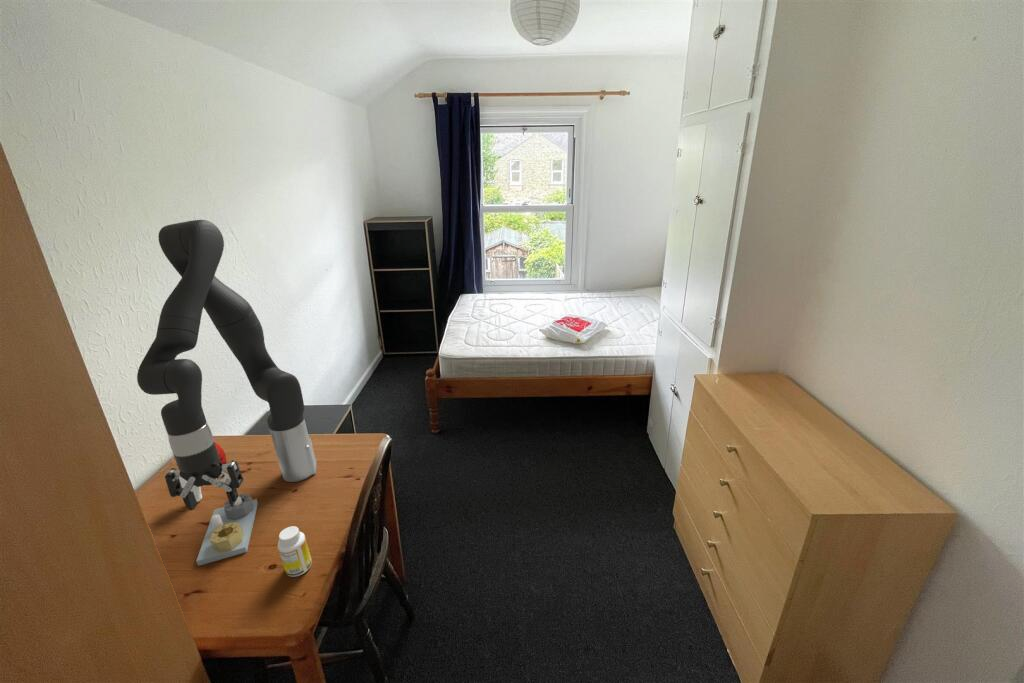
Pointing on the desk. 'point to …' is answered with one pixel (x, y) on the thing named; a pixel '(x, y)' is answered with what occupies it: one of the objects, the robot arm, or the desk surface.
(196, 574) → the desk surface
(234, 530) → the brass gear
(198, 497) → the lightbulb
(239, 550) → the gear board
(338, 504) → the desk surface
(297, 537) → the supplement bottle
